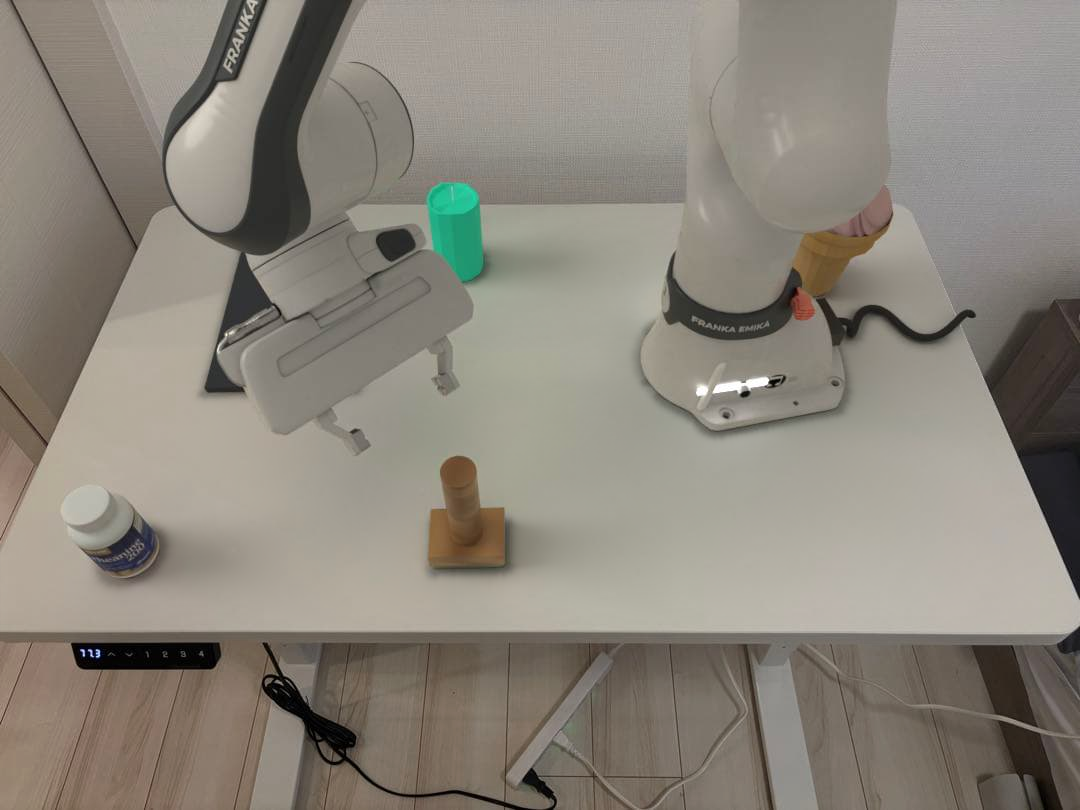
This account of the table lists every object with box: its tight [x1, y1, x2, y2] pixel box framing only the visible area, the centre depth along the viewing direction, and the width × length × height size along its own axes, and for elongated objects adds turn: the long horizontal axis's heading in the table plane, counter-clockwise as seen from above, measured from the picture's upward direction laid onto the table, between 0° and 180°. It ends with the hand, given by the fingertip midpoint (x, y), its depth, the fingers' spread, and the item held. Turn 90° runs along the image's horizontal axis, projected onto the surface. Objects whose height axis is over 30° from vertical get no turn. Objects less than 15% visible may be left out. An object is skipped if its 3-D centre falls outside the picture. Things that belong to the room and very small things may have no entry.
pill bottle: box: [60, 484, 160, 579], centre depth 71 cm, size 5×5×10 cm
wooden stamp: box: [427, 455, 506, 569], centre depth 71 cm, size 7×5×14 cm
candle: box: [426, 182, 485, 283], centre depth 93 cm, size 6×6×12 cm
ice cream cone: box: [793, 184, 894, 297], centre depth 89 cm, size 11×11×20 cm
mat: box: [204, 252, 289, 393], centre depth 93 cm, size 16×22×1 cm
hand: (407, 420), depth 68 cm, fingers open, 8 cm apart
